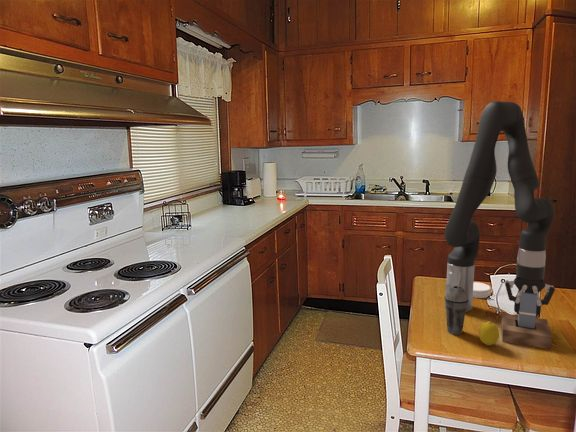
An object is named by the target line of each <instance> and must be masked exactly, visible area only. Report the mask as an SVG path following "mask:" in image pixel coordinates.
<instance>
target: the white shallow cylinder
mask: <svg viewBox="0 0 576 432" xmlns="http://www.w3.org/2000/svg"><path fill="white" fill-rule="evenodd" d="M491 292H492V287H491V285H489V284H486V283H483V282H478V281H474V283H473V298H476V299H487V297H488V296H489V295H490V296H491V295H492V293H491ZM488 298H489V297H488Z"/></svg>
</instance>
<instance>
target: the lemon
mask: <svg viewBox="0 0 576 432" xmlns="http://www.w3.org/2000/svg"><path fill="white" fill-rule="evenodd" d="M478 336H479V339H480V341H481V342H482V343H483V344H485V345H486V346H487V347H490V346H493V345H495V344H497V342H498V340H499V339H500V331H499V327H498V326H497V325H496V324H495V323H493V322H492V321H490V320H489V321H485V322H483V323H481V324H480V327H479V330H478Z"/></svg>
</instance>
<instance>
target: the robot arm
mask: <svg viewBox="0 0 576 432" xmlns="http://www.w3.org/2000/svg"><path fill="white" fill-rule="evenodd" d="M501 132H502V133H503V134H504V136H505V138H506V141H507V144H508V155H507V170H508V171H507V172H508V175H509V178H510V181H511V185H512V187H513V189H514V190H513V191H514V192H513V193H514V194H513V195H514V209H515V214H516V215H517V217H518V219H519V220H520V221H522V222H523V223H527V224H528V226H527V227H526V228H524V229H522V230H521V231H520V235H519V245H518V251H517V258H516V274H515V278H514V280H508V279H507V280H505V281H504V284H505V285H504V286H505V289H506V293H507V298H508V300H509V301H511V302H514V306H513V310H514V313H516V315H518V314H519V310H520V297H521V293H525V292H527V293H534V294H537V307H536V318H538V317H539V316H541V311H542V310H541V309H542V306H545V305H546V306H548V305H549V303H550V301H551V299H552V297H553V295H554V293H555V290H556V289H555V287H554V285H553V284H550V285H549V284H547V283H546V282H545V272H546V271H545V269H546V258H547V254H546V248H547V247H546V246H547V236H548V233H549V232H550V229H551V226H552V224H553V221H554V218H555V207H554V204H553V202H552V201H551V200H549V199H548V198H547V197H546V198H545V197H537V198H535V191H536V190H538V189H539V188H540V180H539V178H538V175H537V171H536V168H535V166H534V163H533V161H532V156H531V153H530V149H529V143H528V138H527V137H528V136H527V131H526V124H525V118H524V114H523V111H522V108H521V106H520V105H519V104H518V103H516V102H513V101H505V100H504V101H502V100H501V101H500V100H494V101H491V102H489V103H488V104H486V106H485V107H484V108H483V110H482V112H481V113H480V118H479V122H478V128H477V132H476V137H475V141H474V145H473V149H472V153H471V155H470V158H469V162H468V165H467V168H466V170H465V173H464V177H463V180H462V184H461V187H460V190H459V192H458V196H457V198H456V202H455V204H454V207H453V210H452V212H451V215H450V217H449V218H448V220H447V223H446V226H445V229H444V239H445V242H446V243H447V244H448V245H449V246H450V247H453V249H452V251H451V252H450V253H448V254H447V263H446V265H447V266H446V267H447V269H446V283H445V294H446V291H447V290H448V289H449V288H451V287H453V286H458V281H459V274H460V273H461V279H460V286H459V287H461V288H463V289H464V290H465V291H466V293H467V295H468V304H467V307H466V312H468V313H469V312H470V311H472V310H473V300H474V299H473V298H474V297H473V283H474V282H475V281H474V280H475V279H474V278H475V265H476V263H475V262H476V259H477V257H478V256H479V255H478V254H479V247H480V236H481V231H480V228H479V225H478V224H477V222H475V221H474V220H473V219H472V218H473V216H474V214H475V213H476V211H477V210H478V208H479V207H480V206H481V204H482V203H483V202H484V200H485V199H486V198H487V196H488V195H489V193H490V192H491V190H492V187H493V184H494V181H495V179H496V176H497V168H498V167H497V160H496V155H495V154H496V153H495V152H496V151H495V149H496V145H497V142H498V139H499V135H500V133H501ZM514 286H515V287H516V288H517V289H518V290H517V292H516V295H515V296H514V295H513V291H512V289H513V287H514ZM543 289H544V290H545V295H544V297H543V299H541V298H540V292H541V291H542V290H543ZM445 294H444V295H445ZM444 309H446V304H445V303H444ZM466 312H465V313H466Z"/></svg>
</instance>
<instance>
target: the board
mask: <svg viewBox="0 0 576 432" xmlns="http://www.w3.org/2000/svg"><path fill="white" fill-rule="evenodd" d="M500 329H501V342H502V343H503V342H504V343H510V344H515V345H520V346H521V345H522V346H528V347H534V348H540V349H547V350H551V349H552V340H553V336H552V333H551V329H550V326H549V322H548V319H547V318H542V317H541V318H540V317H539V318H538V317H536V318H535V328H528V327H521V326H518V314H510V313H504V312H502V313H501V322H500Z"/></svg>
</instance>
